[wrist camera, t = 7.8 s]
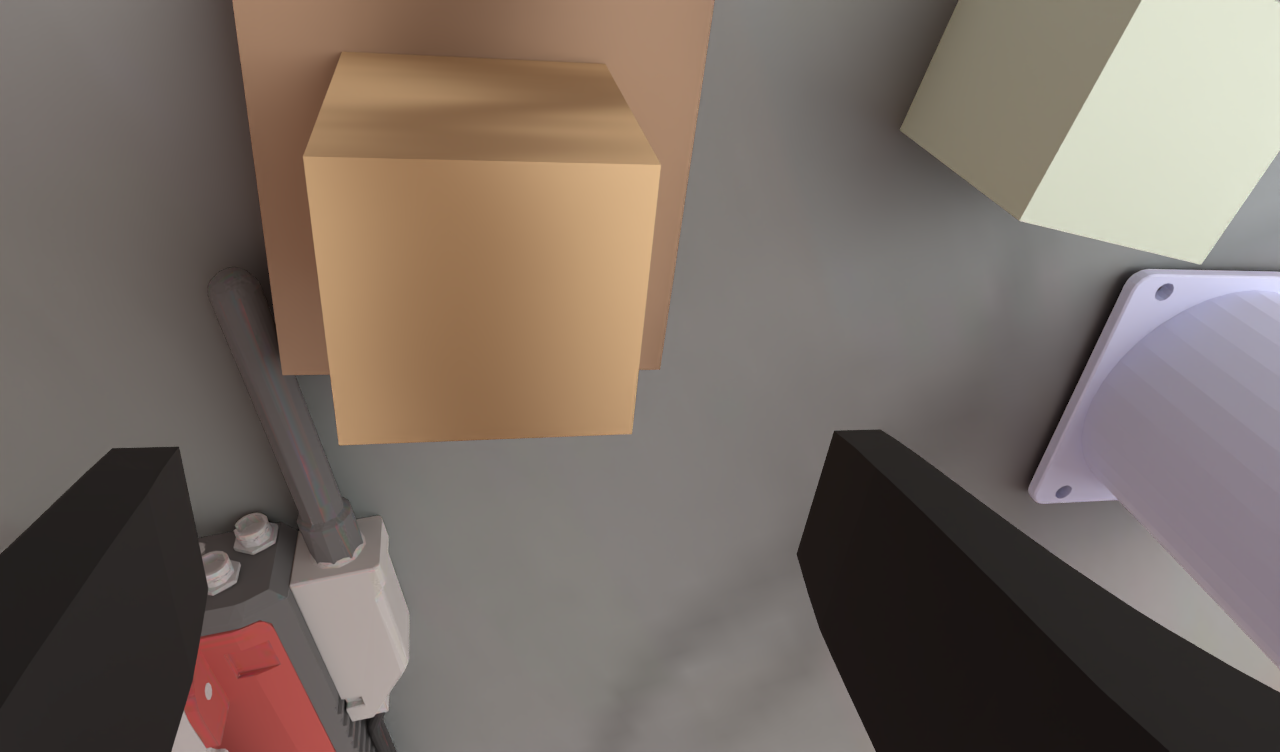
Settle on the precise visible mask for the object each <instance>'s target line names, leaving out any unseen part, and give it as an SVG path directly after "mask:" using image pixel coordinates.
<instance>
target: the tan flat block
mask: <svg viewBox="0 0 1280 752" xmlns="http://www.w3.org/2000/svg"><path fill="white" fill-rule="evenodd" d="M714 1H715V0H232V2H233V9H234V17H235V24H236V32H237V39H238V46H239V54H240V61H241V69H242V76H243V84H244V91H245V99H246V106H247V114H248V121H249V129H250V136H251V144H252V151H253V159H254V166H255V174H256V181H257V189H258V196H259V203H260V211H261V218H262V226H263V233H264V241H265V248H266V256H267V263H268V271H269V278H270V286H271V293H272V301H273V308H274V316H275V323H276V331H277V338H278V346H279V353H280V361H281V368H282V375H330V370H329V362H328V354H327V346H326V338H325V329H324V321H323V313H322V305H321V297H320V289H319V281H318V273H317V265H316V257H315V249H314V241H313V233H312V225H311V217H310V209H309V201H308V193H307V185H306V177H305V169H304V161H303V155H304V152H305V150H306V147H307V144H308V142H309V139H310V136H311V133H312V131H313V128H314V125H315V123H316V120H317V117H318V115H319V112H320V109H321V107H322V104H323V101H324V99H325V96H326V93H327V91H328V88H329V85H330V83H331V80H332V77H333V75H334V72H335V69H336V66H337V64H338V61H339V58H340V56H341V53H342V52H363V53H384V54H405V55H427V56H448V57H469V58H491V59H512V60H533V61H554V62H576V63H597V64H606V66H607V68H608V70H609V71H610V73H611V75H612V77H613V79H614V80H615V82H616V84H617V86H618V88H619V90H620V91H621V93H622V95H623V97H624V99H625V100H626V102H627V104H628V106H629V108H630V110H631V111H632V113H633V115H634V117H635V119H636V120H637V122H638V124H639V126H640V128H641V129H642V131H643V133H644V135H645V137H646V139H647V140H648V142H649V144H650V146H651V148H652V149H653V151H654V153H655V155H656V157H657V159H658V160H659V162H660V164H661V170H660V179H659V189H658V198H657V207H656V216H655V225H654V235H653V244H652V253H651V262H650V272H649V281H648V290H647V299H646V308H645V318H644V327H643V336H642V345H641V354H640V364H639V370H657V369H660V366H661V359H662V352H663V345H664V339H665V332H666V325H667V318H668V312H669V305H670V298H671V291H672V285H673V278H674V271H675V264H676V258H677V251H678V244H679V237H680V230H681V224H682V217H683V210H684V203H685V197H686V190H687V183H688V176H689V170H690V163H691V156H692V149H693V143H694V136H695V129H696V122H697V116H698V109H699V102H700V95H701V89H702V82H703V75H704V68H705V61H706V55H707V48H708V41H709V34H710V28H711V21H712V14H713V7H714Z"/></svg>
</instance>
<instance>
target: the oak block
mask: <svg viewBox="0 0 1280 752" xmlns="http://www.w3.org/2000/svg"><path fill="white" fill-rule="evenodd" d="M303 161H304V169H305V177H306V185H307V193H308V201H309V209H310V217H311V225H312V233H313V241H314V249H315V257H316V265H317V273H318V281H319V289H320V297H321V305H322V313H323V321H324V329H325V338H326V346H327V354H328V362H329V370H330V378H331V386H332V394H333V402H334V410H335V418H336V426H337V434H338V442H339V445H361V444H387V443H413V442H438V441H464V440H489V439H515V438H541V437H566V436H592V435H617V434H632V428H633V419H634V410H635V400H636V391H637V382H638V373H639V364H640V354H641V345H642V336H643V327H644V318H645V308H646V299H647V290H648V281H649V272H650V262H651V253H652V244H653V235H654V225H655V216H656V207H657V198H658V189H659V179H660V170H661V164H660V162H659V160H658V159H657V157H656V155H655V153H654V151H653V149H652V148H651V146H650V144H649V142H648V140H647V139H646V137H645V135H644V133H643V131H642V129H641V128H640V126H639V124H638V122H637V120H636V119H635V117H634V115H633V113H632V111H631V110H630V108H629V106H628V104H627V102H626V100H625V99H624V97H623V95H622V93H621V91H620V90H619V88H618V86H617V84H616V82H615V80H614V79H613V77H612V75H611V73H610V71H609V70H608V68H607V66H606V64H597V63H576V62H554V61H533V60H512V59H491V58H469V57H448V56H427V55H405V54H384V53H363V52H342V53H341V56H340V58H339V61H338V64H337V66H336V69H335V72H334V75H333V77H332V80H331V83H330V85H329V88H328V91H327V93H326V96H325V99H324V101H323V104H322V107H321V109H320V112H319V115H318V117H317V120H316V123H315V125H314V128H313V131H312V133H311V136H310V139H309V142H308V144H307V147H306V150H305V152H304V155H303Z"/></svg>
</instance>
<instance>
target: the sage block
mask: <svg viewBox="0 0 1280 752" xmlns="http://www.w3.org/2000/svg"><path fill="white" fill-rule="evenodd" d="M900 131H901V132H902V133H904V134H905V135H906V136H908V137H909V138H910V139H912V140H913V141H914V142H916V143H917V144H918V145H920V146H921V147H922V148H924V149H925V150H926V151H928V152H929V153H930V154H932V155H933V156H934V157H936V158H937V159H938V160H939V161H941V162H942V163H943V164H945V165H946V166H947V167H949V168H950V169H951V170H953V171H954V172H955V173H957V174H958V175H959V176H961V177H962V178H963V179H965V180H966V181H967V182H969V183H970V184H971V185H973V186H974V187H975V188H977V189H978V190H979V191H980V192H982V193H983V194H984V195H986V196H987V197H988V198H990V199H991V200H992V201H994V202H995V203H996V204H998V205H999V206H1000V207H1002V208H1003V209H1004V210H1006V211H1007V212H1008V213H1010V214H1011V215H1012V216H1014V217H1015V218H1016V219H1017V220H1019V221H1022V222H1026V223H1030V224H1034V225H1039V226H1043V227H1047V228H1051V229H1055V230H1059V231H1063V232H1068V233H1072V234H1076V235H1080V236H1084V237H1088V238H1092V239H1097V240H1101V241H1105V242H1109V243H1113V244H1117V245H1121V246H1126V247H1130V248H1134V249H1138V250H1142V251H1146V252H1150V253H1155V254H1159V255H1163V256H1167V257H1171V258H1175V259H1179V260H1184V261H1188V262H1192V263H1196V264H1200V265H1201V264H1202V263H1203V261H1204V260H1205V258H1206V257H1207V255H1208V254H1209V252H1210V251H1211V249H1212V248H1213V247H1214V245H1215V244H1216V242H1217V241H1218V239H1219V238H1220V236H1221V235H1222V233H1223V232H1224V231H1225V229H1226V228H1227V226H1228V225H1229V223H1230V222H1231V220H1232V219H1233V217H1234V216H1235V215H1236V213H1237V212H1238V210H1239V209H1240V207H1241V206H1242V204H1243V203H1244V201H1245V200H1246V199H1247V197H1248V196H1249V194H1250V193H1251V191H1252V190H1253V188H1254V187H1255V185H1256V184H1257V183H1258V181H1259V180H1260V178H1261V177H1262V175H1263V174H1264V172H1265V171H1266V169H1267V168H1268V167H1269V165H1270V164H1271V162H1272V161H1273V159H1274V158H1275V156H1276V155H1277V153H1278V152H1279V151H1280V2H1278V1H1275V0H959V1H958V3H957V5H956V7H955V9H954V12H953V14H952V16H951V18H950V20H949V23H948V25H947V27H946V29H945V31H944V34H943V36H942V38H941V40H940V42H939V45H938V47H937V49H936V51H935V53H934V56H933V58H932V60H931V62H930V64H929V67H928V69H927V71H926V73H925V75H924V78H923V80H922V82H921V84H920V86H919V89H918V91H917V93H916V95H915V97H914V100H913V102H912V104H911V106H910V108H909V111H908V113H907V115H906V117H905V119H904V122H903V124H902V126H901V128H900Z"/></svg>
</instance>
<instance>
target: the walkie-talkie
mask: <svg viewBox="0 0 1280 752" xmlns="http://www.w3.org/2000/svg"><path fill="white" fill-rule="evenodd" d="M208 297H209V300H210V302H211V304H212V307H213V309H214V312H215V314H216V316H217V319H218V321H219V324H220V326H221V328H222V331H223V333H224V335H225V338H226V340H227V343H228V345H229V347H230V350H231V352H232V355H233V357H234V359H235V362H236V364H237V366H238V369H239V371H240V374H241V376H242V378H243V381H244V383H245V385H246V388H247V390H248V393H249V395H250V397H251V400H252V402H253V405H254V407H255V409H256V412H257V414H258V416H259V419H260V421H261V424H262V426H263V428H264V431H265V433H266V435H267V438H268V440H269V443H270V445H271V447H272V450H273V452H274V455H275V457H276V459H277V462H278V464H279V466H280V469H281V471H282V474H283V476H284V478H285V481H286V483H287V485H288V488H289V490H290V493H291V495H292V497H293V500H294V502H295V505H296V507H297V509H298V512H299V514H298V518H297V525H298V527H299V529H300V530H299V531H297V530H295V529H294V528H292V527H290V526H288V525H286V524H284V523H282V522H279V523H270V522H269V521H268V519H267V517H266V516H265V515H264V514H262V513H251V514H248V515H246V516H244V517H242V518H241V519H240V520H238V521H237V523H236V524H235V527H236V529H235V530H234V531H232V532H227V533H222V534H217V535H212V536H206V537H201V538H198V541H199V546H200V551H201V555H202V560H203V565H204V570H205V575H206V579H207V584H208V595H207V601H206V607H205V613H204V619H203V626H202V632H201V638H200V643H199V649H198V654H197V660H196V665H195V671H194V676H193V681H192V684H191V688H190V691H189V695H188V698H187V701H186V705H185V708H184V711H183V715H182V718H181V721H180V725H179V728H178V731H177V735H176V738H175V741H174V744H173V748H172V751H171V752H396V750H395V747H394V745H393V743H392V740H391V738H390V736H389V733H388V731H387V729H386V726H385V724H384V721H383V716H384V714H385V712H387V711H389V693H390V692H391V690H392V689H393V687H394V686H395V684H396V683H397V681H398V680H399V678H400V677H401V675H402V674H403V672H404V671H405V669H406V667H407V664H408V661H409V628H410V613H409V611H408V608H407V605H406V602H405V599H404V596H403V593H402V590H401V588H400V585H399V582H398V579H397V576H396V573H395V570H394V567H393V565H392V562H391V559H390V556H389V553H388V548H389V536H388V533H387V531H386V528H385V525H384V523H383V520H382V517H380V516H378V515H377V516H372V517H366V518H361V519H356V518H355V515H354V513H353V510H352V507H351V505H350V502H349V500H347V499H346V498H344V497H342V496H341V494H340V491H339V489H338V486H337V484H336V481H335V478H334V476H333V473H332V471H331V468H330V465H329V463H328V460H327V457H326V455H325V452H324V450H323V447H322V444H321V442H320V439H319V437H318V434H317V431H316V429H315V426H314V424H313V421H312V418H311V416H310V413H309V410H308V408H307V405H306V403H305V400H304V397H303V395H302V392H301V390H300V387H299V384H298V382H297V379H296V376H295V375H282V368H281V361H280V353H279V346H278V338H277V331H276V324H275V321H274V319H273V316H272V314H271V311H270V308H269V306H268V303H267V301H266V298H265V295H264V293H263V290H262V287H261V285H260V283H259V282H258V280H257V279H256V278H255V277H254V276H252V275H251V274H250V273H249V272H247V271H246V270H243V269H240V268H237V267H231V268H227V269H224V270H221V271H219V272H218V273H217V274H216V275H215V276H214V277H213V278H212V279H211V281H210V283H209V285H208Z"/></svg>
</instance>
